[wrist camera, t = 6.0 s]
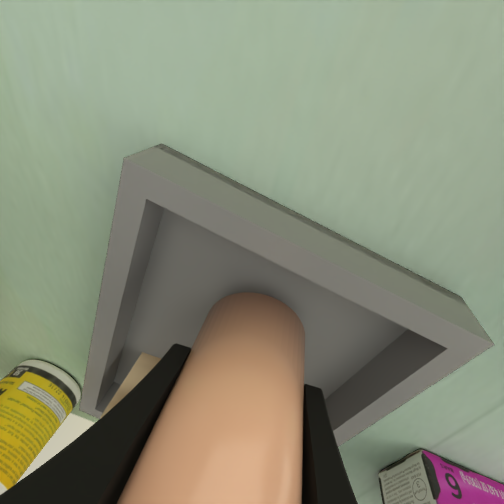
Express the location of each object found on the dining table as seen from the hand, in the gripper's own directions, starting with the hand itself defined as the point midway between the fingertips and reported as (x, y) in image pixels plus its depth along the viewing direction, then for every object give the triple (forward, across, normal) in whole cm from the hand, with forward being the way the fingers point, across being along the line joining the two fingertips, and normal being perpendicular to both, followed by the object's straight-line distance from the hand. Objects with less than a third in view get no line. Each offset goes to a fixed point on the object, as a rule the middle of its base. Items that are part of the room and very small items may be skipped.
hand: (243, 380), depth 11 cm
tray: (+4, +1, +3) cm, 5 cm away
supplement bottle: (+4, +14, +14) cm, 20 cm away
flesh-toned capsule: (+2, 0, 0) cm, 2 cm away
